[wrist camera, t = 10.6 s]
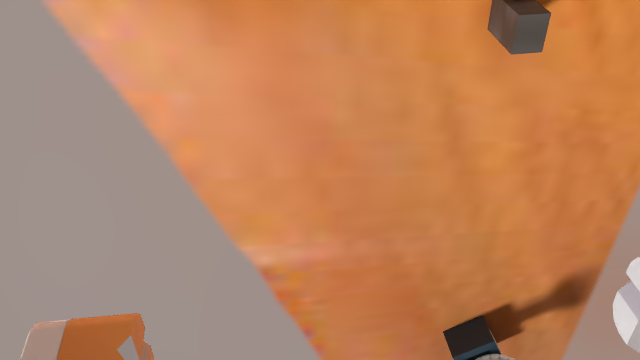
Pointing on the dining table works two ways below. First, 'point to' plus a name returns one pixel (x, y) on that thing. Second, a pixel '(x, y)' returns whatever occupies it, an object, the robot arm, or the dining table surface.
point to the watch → (473, 342)
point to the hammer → (519, 25)
